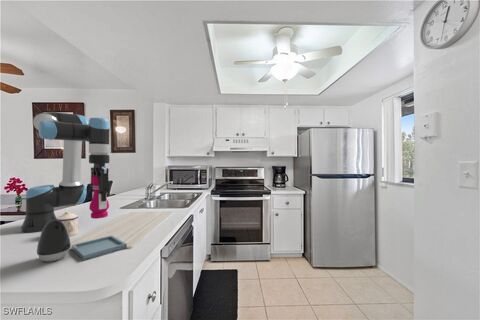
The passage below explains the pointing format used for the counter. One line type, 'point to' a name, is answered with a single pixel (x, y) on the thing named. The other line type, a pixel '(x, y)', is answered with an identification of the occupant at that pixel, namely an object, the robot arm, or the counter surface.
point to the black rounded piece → (53, 241)
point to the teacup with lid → (69, 222)
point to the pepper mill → (97, 201)
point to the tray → (98, 247)
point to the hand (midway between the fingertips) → (99, 207)
